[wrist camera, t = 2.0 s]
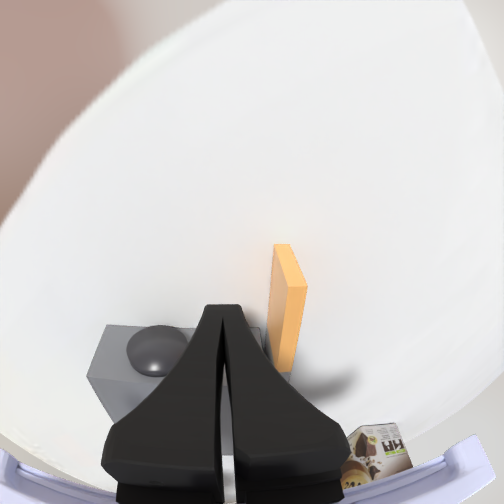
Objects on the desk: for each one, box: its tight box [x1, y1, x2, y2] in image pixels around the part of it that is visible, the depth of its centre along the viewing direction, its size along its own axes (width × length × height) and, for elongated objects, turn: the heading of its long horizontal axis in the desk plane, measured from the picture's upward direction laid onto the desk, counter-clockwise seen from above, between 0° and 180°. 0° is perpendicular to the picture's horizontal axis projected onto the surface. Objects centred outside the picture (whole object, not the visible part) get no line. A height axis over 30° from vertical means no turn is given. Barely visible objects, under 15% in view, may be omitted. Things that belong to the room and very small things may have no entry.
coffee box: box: [340, 423, 413, 490], centre depth 22 cm, size 9×6×16 cm
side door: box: [264, 244, 308, 383], centre depth 17 cm, size 16×1×4 cm, turn 178°
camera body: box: [86, 325, 262, 455], centre depth 18 cm, size 11×10×5 cm
